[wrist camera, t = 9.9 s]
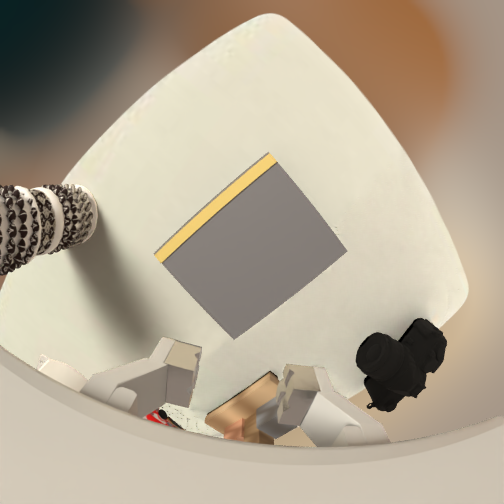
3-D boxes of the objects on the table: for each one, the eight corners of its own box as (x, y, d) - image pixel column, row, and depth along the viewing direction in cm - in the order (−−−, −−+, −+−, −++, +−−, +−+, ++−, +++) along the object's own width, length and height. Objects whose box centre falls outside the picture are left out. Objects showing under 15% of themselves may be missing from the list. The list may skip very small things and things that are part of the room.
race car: (205, 443, 40) (202, 458, 36) (185, 450, 40) (181, 464, 36) (153, 398, 38) (146, 413, 34) (134, 407, 38) (127, 421, 35)
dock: (235, 328, 35) (233, 340, 32) (161, 248, 33) (153, 254, 30) (339, 246, 32) (347, 251, 29) (266, 155, 30) (268, 151, 27)
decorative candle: (112, 216, 32) (-54, 263, 7) (75, 259, 33) (-60, 329, 9) (78, 168, 30) (-77, 166, 6) (45, 212, 32) (-90, 244, 7)
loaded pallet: (249, 438, 40) (248, 488, 29) (206, 412, 39) (195, 465, 27) (311, 400, 38) (324, 454, 27) (269, 369, 36) (273, 427, 25)
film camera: (397, 294, 34) (431, 320, 25) (431, 323, 35) (462, 349, 26) (331, 373, 37) (347, 412, 28) (371, 392, 38) (389, 427, 29)
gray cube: (274, 420, 36) (275, 439, 32) (256, 409, 35) (256, 427, 31) (294, 408, 35) (297, 426, 31) (276, 395, 35) (278, 414, 31)
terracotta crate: (242, 438, 37) (242, 456, 33) (224, 428, 36) (222, 446, 32) (260, 428, 36) (260, 447, 32) (242, 417, 36) (241, 436, 32)
